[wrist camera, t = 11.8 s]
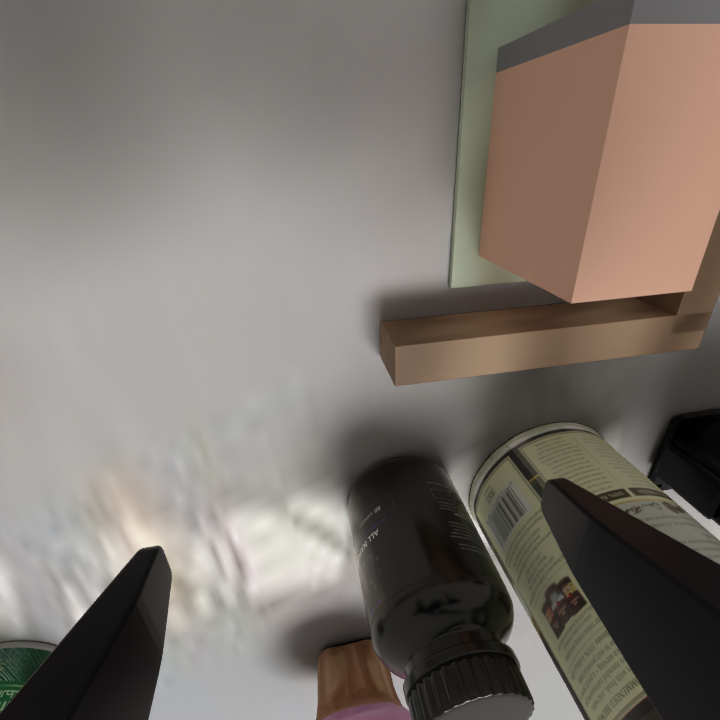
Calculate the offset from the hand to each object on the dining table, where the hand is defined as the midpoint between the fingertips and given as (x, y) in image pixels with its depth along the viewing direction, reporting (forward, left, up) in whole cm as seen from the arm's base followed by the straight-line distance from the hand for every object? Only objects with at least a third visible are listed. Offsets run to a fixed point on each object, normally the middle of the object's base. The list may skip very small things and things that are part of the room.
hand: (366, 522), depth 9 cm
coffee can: (-14, +13, -12) cm, 23 cm away
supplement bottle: (-4, +12, -12) cm, 18 cm away
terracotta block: (-10, -7, -12) cm, 17 cm away
